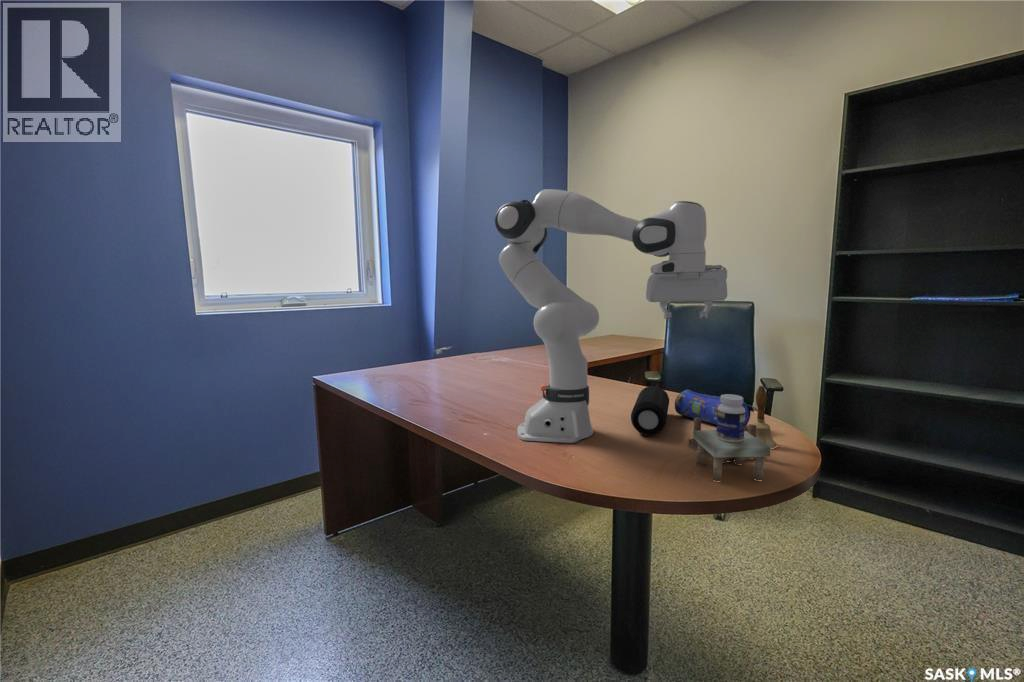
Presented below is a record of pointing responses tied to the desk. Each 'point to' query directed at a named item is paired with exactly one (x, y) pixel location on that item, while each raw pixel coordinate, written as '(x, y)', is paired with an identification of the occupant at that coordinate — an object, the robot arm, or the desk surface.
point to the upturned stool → (694, 445)
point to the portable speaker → (650, 411)
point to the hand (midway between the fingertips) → (685, 318)
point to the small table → (730, 451)
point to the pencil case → (703, 406)
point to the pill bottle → (731, 418)
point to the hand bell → (761, 427)
